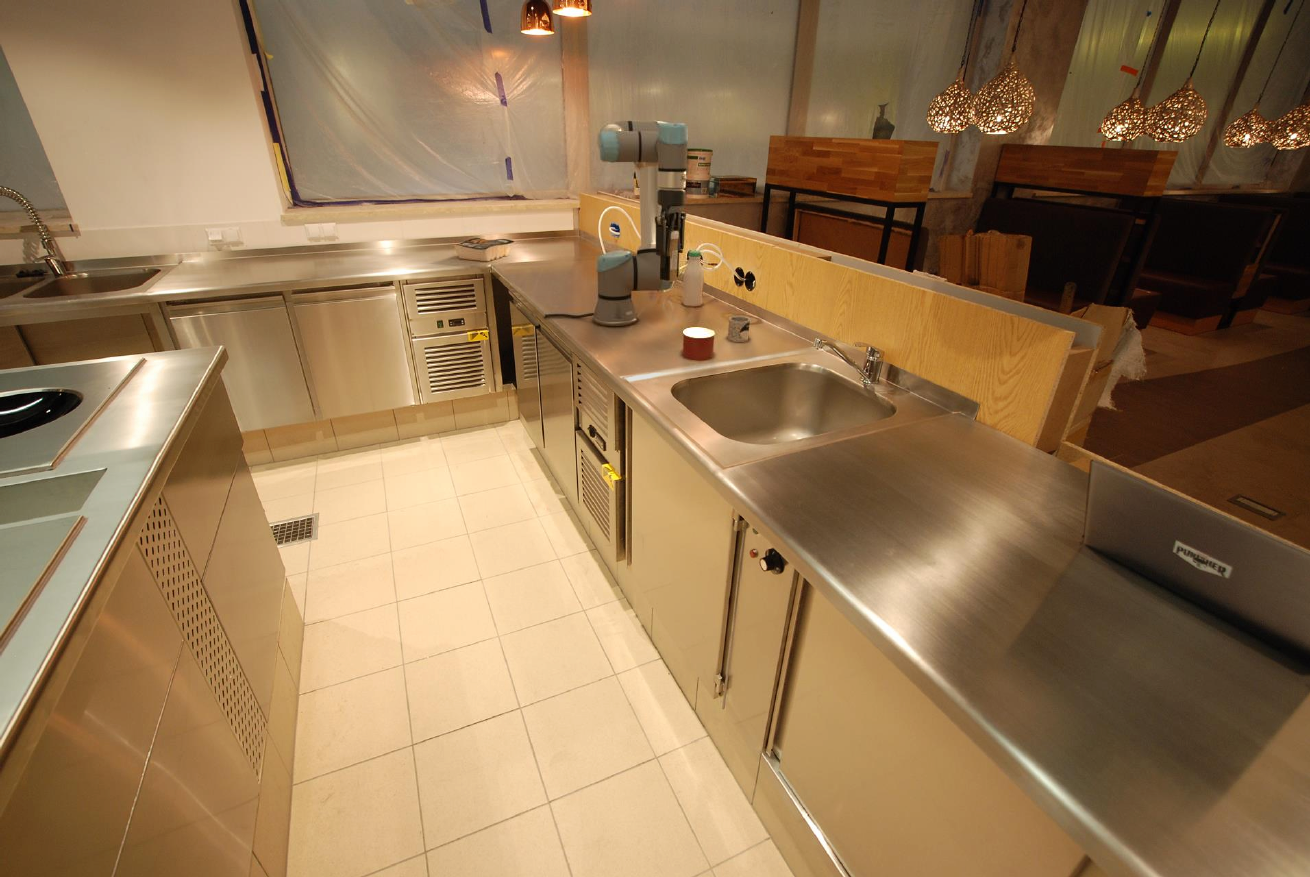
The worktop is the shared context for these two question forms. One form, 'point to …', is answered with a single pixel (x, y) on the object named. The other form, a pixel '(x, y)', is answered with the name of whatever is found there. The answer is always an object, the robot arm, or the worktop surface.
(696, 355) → the tin
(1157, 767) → the worktop surface
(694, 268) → the milk bottle
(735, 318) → the mug
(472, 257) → the food packaging
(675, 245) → the sprinkles bottle
